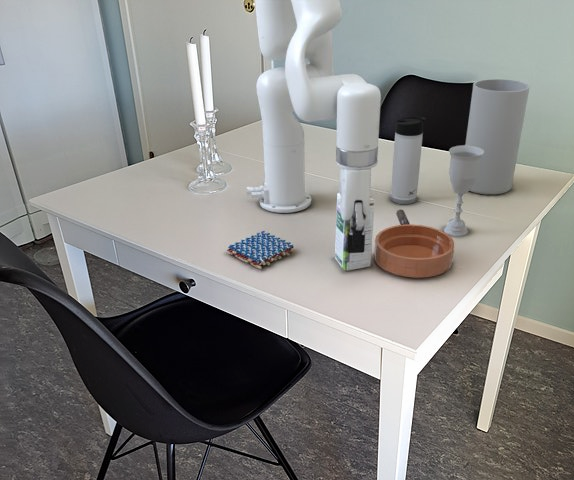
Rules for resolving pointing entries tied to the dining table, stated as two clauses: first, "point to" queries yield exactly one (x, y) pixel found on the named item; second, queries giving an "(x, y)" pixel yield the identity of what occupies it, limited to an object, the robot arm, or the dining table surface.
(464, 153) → the chalice
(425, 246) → the pan
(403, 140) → the travel mug
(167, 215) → the dining table surface
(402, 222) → the pan handle
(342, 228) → the syrup box
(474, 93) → the cylinder vase
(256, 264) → the woven mat
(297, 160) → the robot arm
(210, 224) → the dining table surface
